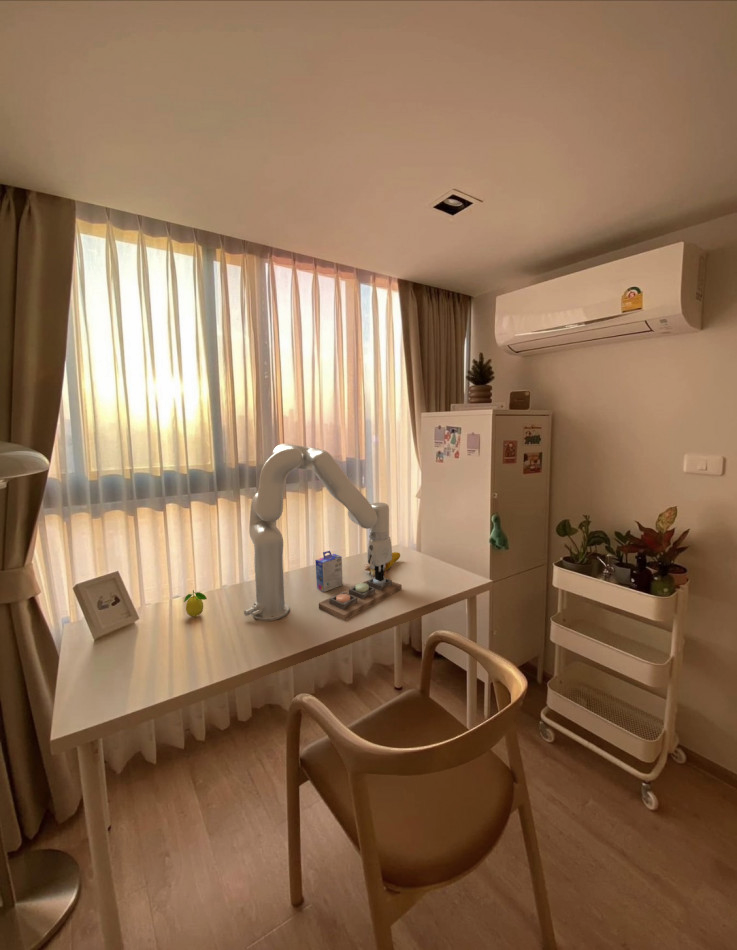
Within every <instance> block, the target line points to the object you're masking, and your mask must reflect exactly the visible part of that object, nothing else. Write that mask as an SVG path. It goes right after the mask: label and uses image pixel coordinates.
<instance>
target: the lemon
mask: <svg viewBox="0 0 737 950" xmlns="http://www.w3.org/2000/svg"><path fill="white" fill-rule="evenodd" d="M204 600H207V596H206V594H204V593H202V592H199V591H197V592H195V591H194V589H193V590H192V593H188V594H187V595H186V596H185V597H184V601H183V602H184V603H185V602H186V603H185V604H186V605H185V611H186V613H187V614H188V616H190V617H194V618H197V617H198V616H199V615H200V614H202V612H203V610H204V602H203V601H204Z"/></svg>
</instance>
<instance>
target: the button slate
mask: <svg viewBox="0 0 737 950" xmlns="http://www.w3.org/2000/svg"><path fill="white" fill-rule="evenodd" d="M385 582H386V579H385V577H384V580H382V581H379V580H376V579H375V578H374V579H373V583H376V584H379V585H381V584H383V583H385Z"/></svg>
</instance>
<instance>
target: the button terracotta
mask: <svg viewBox="0 0 737 950" xmlns="http://www.w3.org/2000/svg"><path fill="white" fill-rule="evenodd" d="M349 600H350V596H349V595H347V594H340V595H338V596H336V601H339V602H341V603H345V602H347V601H349Z"/></svg>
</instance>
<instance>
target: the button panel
mask: <svg viewBox="0 0 737 950" xmlns="http://www.w3.org/2000/svg"><path fill="white" fill-rule="evenodd" d="M374 578H375V577H374ZM374 578H372V577H371V578H369V579H366V581H365V580H364V581H363V582H362V583H365V584H368V585H369V591H367V592H365V593H363V594H362V593H359V592H357V591H356V589H355V586H356V585H355V586H353V587H351V588H348V589H346V590H344V591H341V592H339V593H337V594H335V595H333V596H331V597H329V598H327V599H324V600H322V601H320V602H318V609H319V610H322V611H324V612H326V613H328V614H330V615H331V616H334V617H336V618H338V619H340V620H342V621H346V620H348V619H350V618H351V617H353V616H355V615H357V614H359V613H361V612H363V611H365V610H366V609H369V608H370V607H372V606H374V605H375V604H377V603H380V602H381V601H383V600H385V599H387V598H389V597H390V596H392V595H394V594H396V593H398V592H400V591H402V590H403V589H402V588H403V587H402V586H403V585H402V584H401V583H397V582H395V581H392V579H390V578H387V577H386V578H385V577H384V578H385V579H386V582H385V583H383V584H381V585H379V584H376V583H373V579H374ZM340 594H347V595H349V596H350V600H349V601H347V602H345V603H341V602H339V601H336V596H338V595H340Z"/></svg>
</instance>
